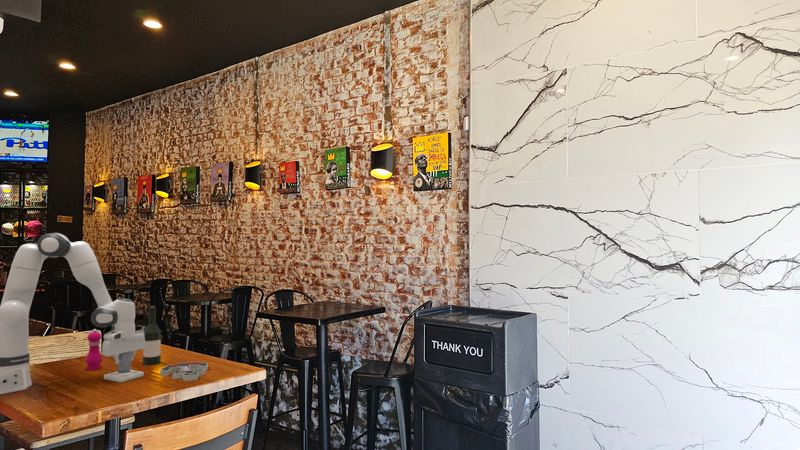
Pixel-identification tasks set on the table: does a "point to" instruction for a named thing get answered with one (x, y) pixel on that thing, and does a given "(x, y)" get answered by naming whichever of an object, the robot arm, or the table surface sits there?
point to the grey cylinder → (124, 363)
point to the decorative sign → (185, 370)
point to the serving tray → (123, 376)
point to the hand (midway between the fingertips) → (124, 362)
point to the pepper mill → (94, 351)
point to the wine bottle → (152, 340)
